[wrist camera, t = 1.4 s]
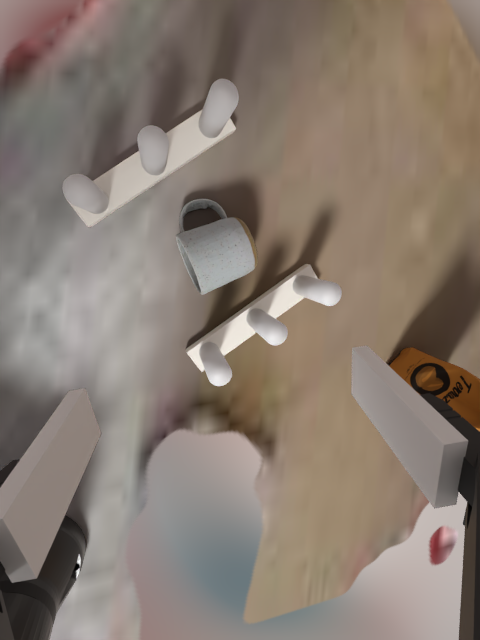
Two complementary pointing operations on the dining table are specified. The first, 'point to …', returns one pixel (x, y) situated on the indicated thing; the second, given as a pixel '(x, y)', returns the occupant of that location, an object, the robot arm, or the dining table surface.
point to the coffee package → (441, 382)
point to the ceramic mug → (216, 248)
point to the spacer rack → (156, 164)
